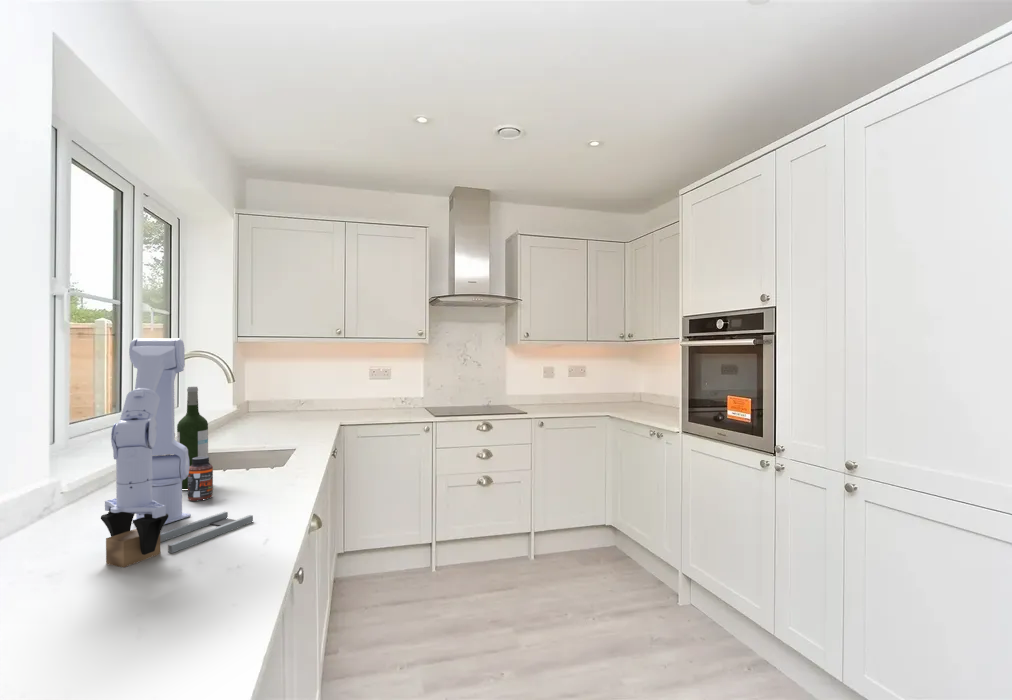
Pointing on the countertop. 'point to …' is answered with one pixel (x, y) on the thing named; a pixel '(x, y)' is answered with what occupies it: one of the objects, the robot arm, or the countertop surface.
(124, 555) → the brown rectangular block
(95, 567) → the countertop surface
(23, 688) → the countertop surface
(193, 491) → the supplement bottle
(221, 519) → the channel
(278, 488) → the countertop surface
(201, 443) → the wine bottle
